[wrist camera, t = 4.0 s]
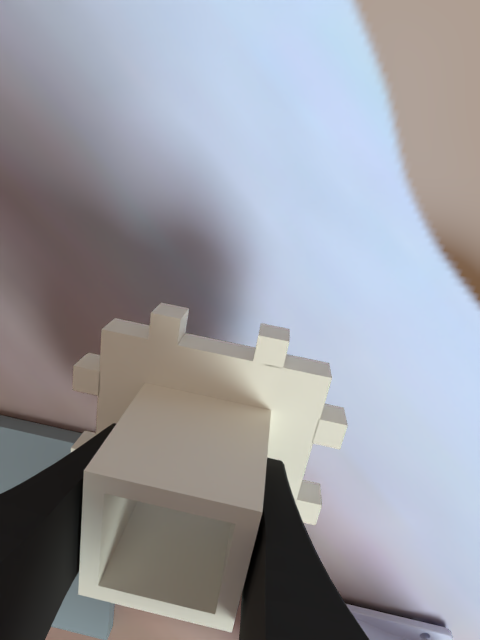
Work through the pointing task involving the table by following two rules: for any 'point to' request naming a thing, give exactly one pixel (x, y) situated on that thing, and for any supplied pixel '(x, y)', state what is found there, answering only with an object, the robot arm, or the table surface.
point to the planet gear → (192, 460)
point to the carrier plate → (23, 463)
